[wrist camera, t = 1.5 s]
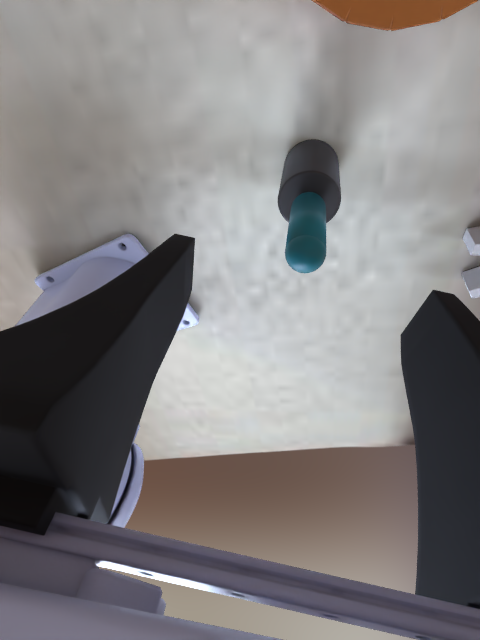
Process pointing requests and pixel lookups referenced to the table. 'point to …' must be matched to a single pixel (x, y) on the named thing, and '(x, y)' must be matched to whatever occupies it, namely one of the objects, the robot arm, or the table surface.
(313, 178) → the brush
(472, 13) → the table surface
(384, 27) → the orange flowerpot
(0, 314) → the table surface
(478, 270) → the pliers
